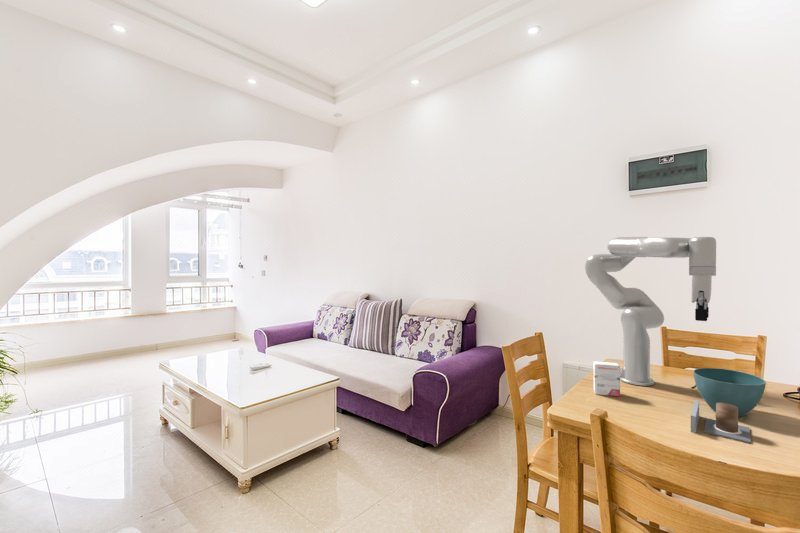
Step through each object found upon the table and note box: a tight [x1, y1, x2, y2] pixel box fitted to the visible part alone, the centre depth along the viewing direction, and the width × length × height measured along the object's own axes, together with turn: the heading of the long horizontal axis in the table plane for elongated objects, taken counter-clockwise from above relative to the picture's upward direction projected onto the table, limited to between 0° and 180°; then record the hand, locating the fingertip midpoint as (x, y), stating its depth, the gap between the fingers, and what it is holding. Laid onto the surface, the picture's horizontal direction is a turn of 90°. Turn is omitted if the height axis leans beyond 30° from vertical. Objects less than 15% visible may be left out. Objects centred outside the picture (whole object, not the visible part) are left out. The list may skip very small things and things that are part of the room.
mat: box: [704, 417, 752, 444], centre depth 110 cm, size 10×12×1 cm
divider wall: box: [690, 399, 700, 434], centre depth 115 cm, size 1×16×5 cm, turn 138°
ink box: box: [592, 361, 621, 397], centre depth 142 cm, size 9×5×12 cm, turn 71°
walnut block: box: [715, 403, 739, 433], centre depth 110 cm, size 5×5×7 cm
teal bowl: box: [693, 367, 767, 417], centre depth 124 cm, size 18×18×12 cm
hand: (702, 318), depth 132 cm, fingers open, 9 cm apart
